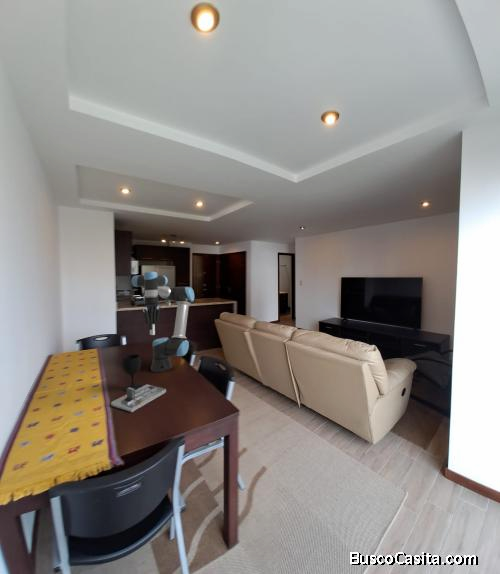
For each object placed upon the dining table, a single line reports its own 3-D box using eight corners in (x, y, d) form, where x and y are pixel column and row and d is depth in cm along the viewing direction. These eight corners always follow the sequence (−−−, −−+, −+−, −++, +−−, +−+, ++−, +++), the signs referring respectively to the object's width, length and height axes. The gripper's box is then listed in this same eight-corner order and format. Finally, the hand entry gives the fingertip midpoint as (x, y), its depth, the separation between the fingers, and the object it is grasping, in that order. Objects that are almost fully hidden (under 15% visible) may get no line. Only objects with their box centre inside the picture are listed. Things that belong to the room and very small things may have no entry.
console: (147, 387, 153) (146, 382, 153) (166, 392, 146) (165, 387, 146) (111, 405, 131) (111, 400, 131) (131, 412, 124) (131, 406, 124)
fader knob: (130, 397, 135) (130, 387, 135) (135, 399, 133) (135, 388, 133) (126, 399, 133) (126, 388, 132) (131, 401, 131) (131, 390, 131)
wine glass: (121, 392, 146) (120, 360, 145) (125, 385, 156) (124, 355, 155) (140, 390, 149) (139, 358, 148) (143, 383, 159) (142, 353, 158)
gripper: (155, 295, 156) (156, 331, 156) (138, 297, 144) (139, 336, 145) (163, 296, 152) (164, 332, 153) (147, 297, 141) (148, 337, 141)
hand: (152, 334), depth 149 cm, fingers closed
